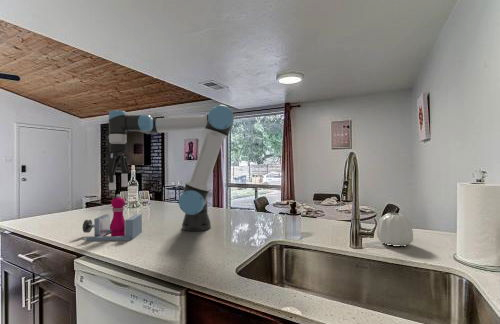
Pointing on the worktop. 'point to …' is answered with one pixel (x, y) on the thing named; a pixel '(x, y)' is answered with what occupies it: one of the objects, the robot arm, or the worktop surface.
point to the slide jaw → (98, 225)
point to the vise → (131, 230)
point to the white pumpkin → (395, 229)
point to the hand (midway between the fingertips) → (118, 188)
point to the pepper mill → (118, 217)
